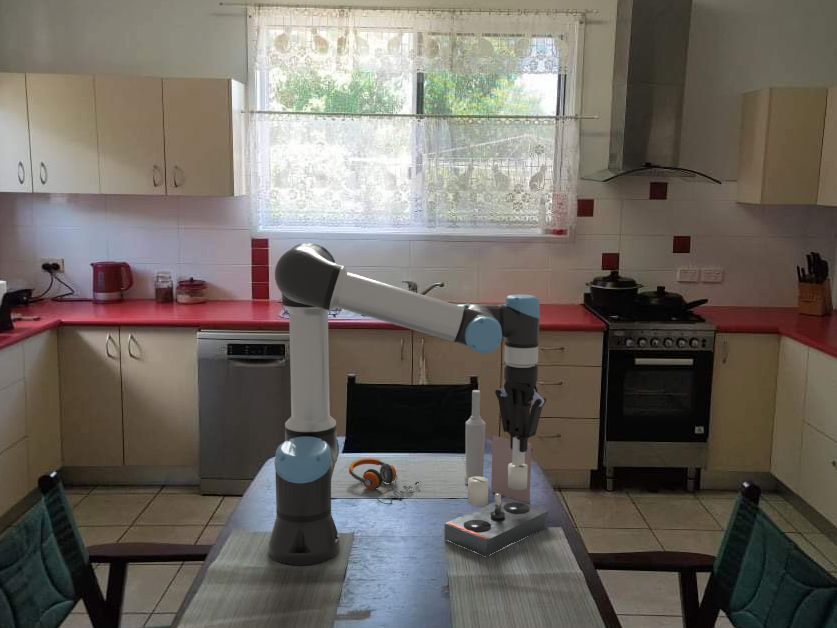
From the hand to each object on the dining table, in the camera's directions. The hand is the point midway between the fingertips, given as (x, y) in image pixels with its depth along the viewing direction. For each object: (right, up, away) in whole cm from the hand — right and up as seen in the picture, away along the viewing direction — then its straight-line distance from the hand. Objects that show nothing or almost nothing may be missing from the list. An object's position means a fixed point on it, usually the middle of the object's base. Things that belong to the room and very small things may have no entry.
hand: (518, 464), depth 186 cm
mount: (-5, -15, -3) cm, 16 cm away
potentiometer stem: (-5, -11, -3) cm, 13 cm away
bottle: (-8, -10, +28) cm, 31 cm away
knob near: (-10, -7, -9) cm, 15 cm away
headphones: (-32, -11, +25) cm, 42 cm away
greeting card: (0, -12, +20) cm, 23 cm away
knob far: (0, -5, +1) cm, 5 cm away
